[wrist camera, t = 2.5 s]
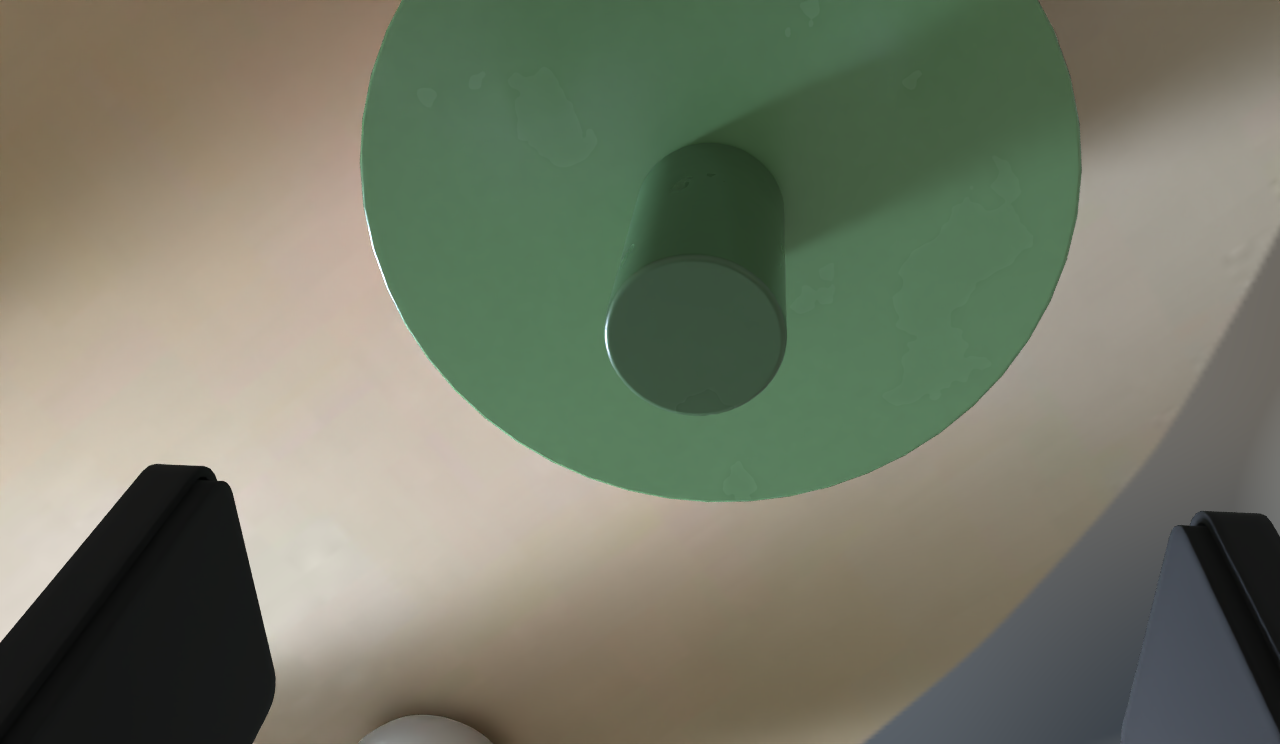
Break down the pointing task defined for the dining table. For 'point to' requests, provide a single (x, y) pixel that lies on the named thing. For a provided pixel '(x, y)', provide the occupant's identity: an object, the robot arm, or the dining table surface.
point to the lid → (721, 223)
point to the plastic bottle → (424, 732)
